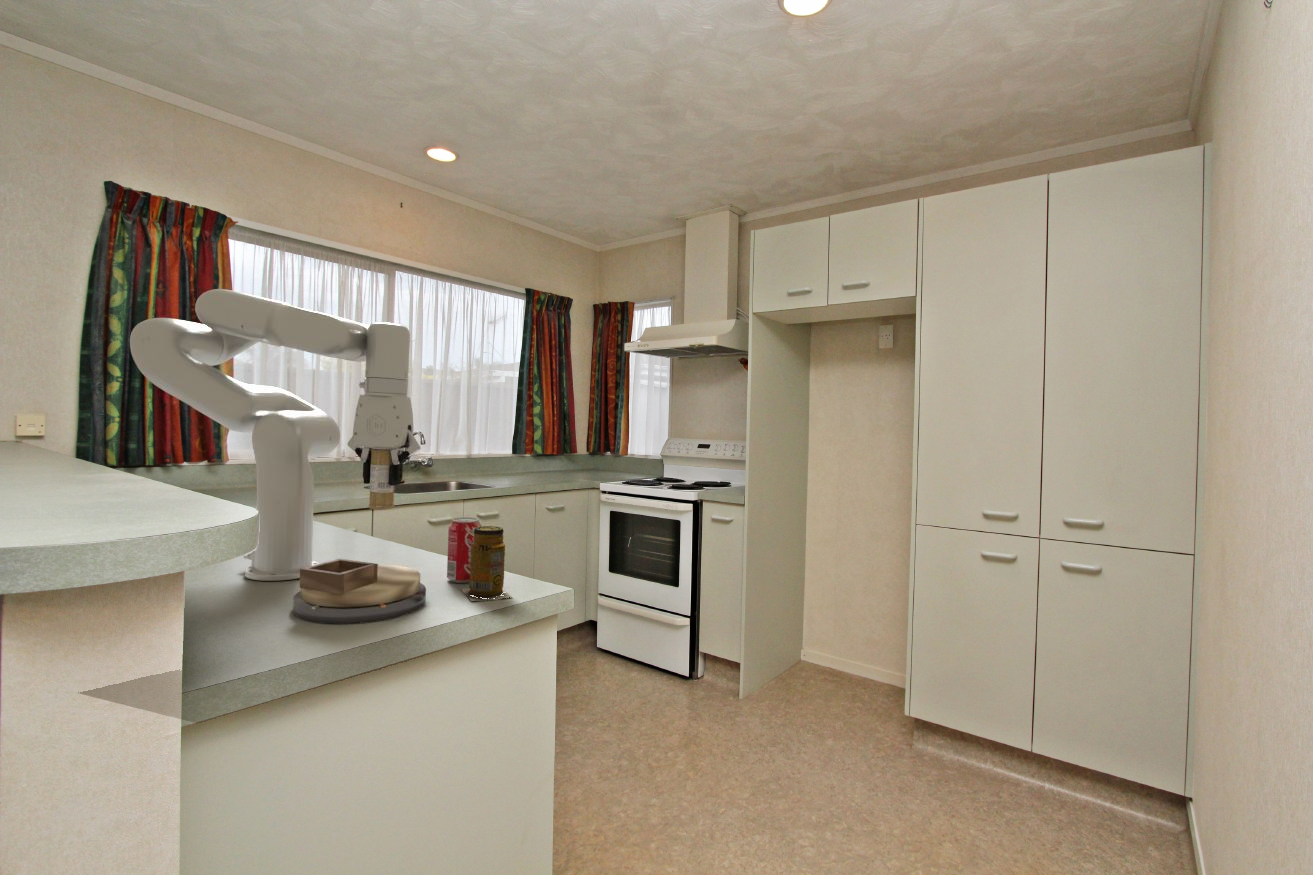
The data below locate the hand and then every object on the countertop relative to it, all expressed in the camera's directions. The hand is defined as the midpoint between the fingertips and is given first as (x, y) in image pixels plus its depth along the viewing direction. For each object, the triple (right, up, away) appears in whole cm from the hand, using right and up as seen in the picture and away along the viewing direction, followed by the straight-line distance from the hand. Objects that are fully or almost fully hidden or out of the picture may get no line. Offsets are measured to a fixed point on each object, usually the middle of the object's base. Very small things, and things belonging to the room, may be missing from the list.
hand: (382, 482), depth 118 cm
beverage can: (+15, -19, +3) cm, 25 cm away
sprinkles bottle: (0, -5, 0) cm, 5 cm away
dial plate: (+3, -19, -15) cm, 25 cm away
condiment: (+22, -20, -6) cm, 30 cm away
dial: (+3, -17, -15) cm, 23 cm away
